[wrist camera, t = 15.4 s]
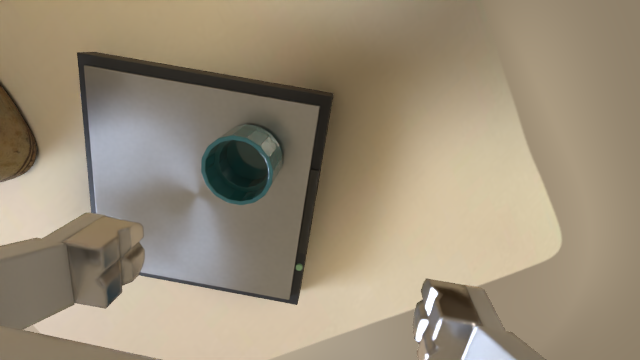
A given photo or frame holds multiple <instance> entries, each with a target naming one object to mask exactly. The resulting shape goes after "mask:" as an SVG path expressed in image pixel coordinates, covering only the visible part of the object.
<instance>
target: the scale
mask: <svg viewBox="0 0 640 360" xmlns="http://www.w3.org/2000/svg"><path fill="white" fill-rule="evenodd" d="M77 56H78V67H79V79H80V90H81V101H82V112H83V123H84V135H85V146H86V157H87V168H88V179H89V191H90V202H91V213H97V214H102V215H106V216H111V217H116V218H121V219H125V220H130V221H135V222H139V223H141V224H142V225H143V228H144V237H143V239H142V240H141V241H140V244H141V245H142V247H143V248H144V249H145V260H144V265H143V267H142V269H141V271H140V273H139V275H141V276H146V277H152V278H157V279H162V280H168V281H173V282H178V283H184V284H189V285H194V286H200V287H205V288H210V289H216V290H221V291H226V292H232V293H237V294H242V295H248V296H253V297H258V298H264V299H269V300H274V301H280V302H285V303H290V304H296V305H297V304H298V299H299V294H300V289H301V283H302V277H303V271H304V265H305V259H306V254H307V248H308V242H309V236H310V230H311V224H312V218H313V212H314V206H315V200H316V194H317V188H318V182H319V177H320V171H321V165H322V159H323V153H324V147H325V141H326V135H327V129H328V123H329V117H330V111H331V105H332V100H333V93H328V92H323V91H317V90H311V89H305V88H299V87H294V86H288V85H282V84H276V83H271V82H265V81H259V80H253V79H248V78H242V77H236V76H230V75H224V74H219V73H213V72H207V71H201V70H196V69H190V68H184V67H178V66H173V65H167V64H161V63H155V62H149V61H144V60H138V59H132V58H126V57H121V56H115V55H109V54H103V53H97V52H79V53H77ZM246 124H248V125H253V126H259V127H261V128H263V129H264V130H266V131H268V132H269V133H271V134H272V135H273V137H274V138H275V139H276V141H277V142H278V143H279V146H280V149H281V153H282V157H283V158H282V166H281V170H280V171H279V173H278V175H277V176H276V178H275V180H274V182H273V183H272V185H271V187H270V188H269V190H268V192H267V193H266V195H265V196H264V197H262V198H261V199H259V200H258V201H256V202H255V203H251V204H245V205H237V204H231V203H227V202H225V201H223V200H222V199H220V198H218V197H217V196H215V195H214V194H213V193H212V191H211V190H210V189H209V188H208V187H207V186H206V184H205V181H204V179H203V176H202V173H201V159H202V156H203V154H204V152H205V150H206V148H207V147H208V146H209V145H210V144H211V143H213V142H214V141H215V140H217V139H218V138H219V137H221V136H222V135H224V134H225V133H227V132H228V131H229V130H231V129H232V128H234V127H237V126H241V125H246Z"/></svg>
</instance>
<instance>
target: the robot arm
mask: <svg viewBox="0 0 640 360" xmlns="http://www.w3.org/2000/svg"><path fill="white" fill-rule="evenodd" d="M143 237H144V228H143V225H142V224H141V223H139V222H135V221H130V220H125V219H121V218H116V217H111V216H106V215H102V214H97V213H85V214H83V215H81V216H80V217H78V218H76V219H74V220H73V221H71V222H69V223H68V224H66V225H64V226H63V227H61V228H59V229H57V230H56V231H54V232H52V233H51V234H49V235H47V236H46V237H44V238H42V239H40V238H33V239H29V240H24V241H20V242H15V243H11V244H7V245H2V246H0V360H161V359H156V358H151V357H147V356H142V355H137V354H133V353H128V352H123V351H119V350H114V349H109V348H105V347H100V346H95V345H91V344H86V343H81V342H77V341H72V340H67V339H63V338H58V337H53V336H49V335H44V334H39V333H34V332H30V331H25V330H23V329H25V328H27V327H29V326H31V325H33V324H35V323H37V322H39V321H41V320H43V319H45V318H48V317H50V316H52V315H54V314H56V313H58V312H60V311H62V310H64V309H66V308H68V307H70V306H72V305H74V303H78V304H83V305H89V306H95V307H100V308H107V307H108V306H109V305H110V304H111V303H112V302H113V301H114V300H115V299H116V298H117V297H118V296H119V295H120V294H121V293H122V285H125V284H127V283H130V282H132V281H133V280H134V279H135V278H136V277H137V276H138V275H139V273H140V271H141V269H142V267H143V265H144V260H145V249H144V248H143V247H142V245H141V244H140V241H141V240H142V239H143ZM421 293H422V297H423V300H421V301H420V302H418V303H417V305H416V308H415V312H414V319H413V333H414V339H415V340H416V341H417V342H418V343H419V347H418V350H417V356H418V360H546V359H545V358H543V357H542V356H541V355H540V354H538V353H537V352H536V351H535V350H533V349H532V348H531V347H530V346H528V345H527V344H526V343H525V342H523V341H522V340H521V339H520V338H518V337H517V336H516V335H515V334H513V333H512V332H508V331H505V328H504V327H503V325H502V323H501V321H500V319H499V317H498V315H497V313H496V311H495V309H494V307H493V305H492V303H491V301H490V299H489V298H488V296H487V293H486V292H485V290H484V289H483V288H481V287H475V286H469V285H461V284H455V283H449V282H443V281H438V280H432V279H426V280H425V281H424V283H423V286H422V289H421Z"/></svg>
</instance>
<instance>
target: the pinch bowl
mask: <svg viewBox="0 0 640 360" xmlns="http://www.w3.org/2000/svg"><path fill="white" fill-rule="evenodd" d="M282 158H283V157H282V153H281V149H280V146H279V143H278V142H277V141H276V139H275V138H274V137H273V135H272V134H271V133H269V132H268V131H266V130H264V129H263V128H261V127H259V126H253V125H248V124H246V125H241V126H237V127H234V128H232V129H231V130H229V131H228V132H227V133H225V134H224V135H222V136H221V137H219V138H218V139H217V140H215V141H214V142H213V143H211V144H210V145H209V146H208V147H207V148H206V150H205V152H204V154H203V156H202V159H201V173H202V176H203V179H204V181H205V184H206V186H207V187H208V188H209V189H210V190H211V191H212V193H213V194H214V195H215V196H217V197H218V198H220V199H222V200H223V201H225V202H227V203H231V204H237V205H245V204H251V203H255V202H256V201H258V200H259V199H261V198H262V197H264V196H265V195H266V193H267V192H268V190H269V188H270V187H271V185H272V183H273V182H274V180H275V178H276V176H277V175H278V173H279V171H280V170H281V166H282Z"/></svg>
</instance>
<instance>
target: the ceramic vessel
mask: <svg viewBox="0 0 640 360" xmlns="http://www.w3.org/2000/svg"><path fill="white" fill-rule="evenodd" d="M36 153H37V148H36V143H35V139H34V137H33V135H32V133H31V131H30V129H29V127H28V126H27V124H26V123H25V121H24V120H23V118H22V116H21V115H20V113H19V111H18V109H17V107H16V106H15V104H14V103H13V101H12V100H11V98H10V97H9V96H8V94H7V93H6V92H5V90H4V89H3V88H2V87H1V85H0V182H3V181H6V180H10V179H13V178H16V177H18V176H20V175H22V174H24V173H25V172H27V171H28V170H29V169H30V168H31V167H32V165H33V164H34V161H35V158H36Z"/></svg>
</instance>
